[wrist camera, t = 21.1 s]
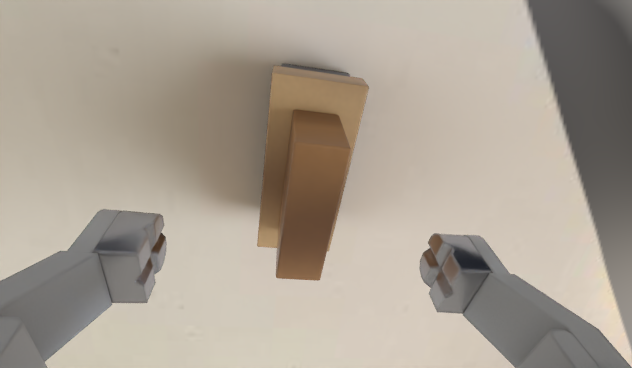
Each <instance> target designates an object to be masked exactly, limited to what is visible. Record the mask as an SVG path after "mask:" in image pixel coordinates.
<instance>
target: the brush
mask: <svg viewBox="0 0 632 368" xmlns="http://www.w3.org/2000/svg"><path fill="white" fill-rule="evenodd" d="M368 89H369V86H368V85H367V84H366V82H365V81H364V80H363V79H362V78H356V77H351V76H350V75H349V74H348V73H343V72H336V71H330V70H323V69H316V68H310V67H303V66H296V65H290V64H282V65H281V66H273V71H272V79H271V91H270V103H269V114H268V126H267V138H266V149H265V161H264V173H263V184H262V196H261V208H260V219H259V231H258V242H257V246H258V247H272V248H277V261H276V277H277V278H282V279H300V280H320V278H321V273H322V269H323V265H324V261H325V257H326V253H327V251H329V248H330V244H331V240H332V236H333V232H334V228H335V224H336V220H337V216H338V212H339V208H340V204H341V199H342V195H343V191H344V187H345V183H346V179H347V175H348V171H349V167H350V163H351V159H352V154H353V150H354V146H355V142H356V138H357V134H358V130H359V126H360V122H361V118H362V114H363V110H364V105H365V101H366V97H367V93H368Z"/></svg>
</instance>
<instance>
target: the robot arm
mask: <svg viewBox="0 0 632 368" xmlns="http://www.w3.org/2000/svg"><path fill="white" fill-rule="evenodd" d="M163 227H164V220H163V216H162V215H161V214H154V213H143V212H132V211H118V210H107V209H103V210H100V211H98V212H97V214H96V215H95V216H94V217H93V219H92V220H91V221H90V222H89V224H88V225H87V226H86V228H85V229H84V230H83V231H82V233H81V234H80V235H79V237H78V238H77V239H76V240H75V242H74V243H73V244H72V245H71V247H70V248H69V249H68V251H59V252H57V253H55V254H53V255H52V256H50V257H48V258H46V259H44V260H42V261H40V262H38V263H36V264H34V265H32V266H30V267H28V268H26V269H24V270H22V271H20V272H18V273H16V274H14V275H12V276H10V277H8V278H6V279H4V280H2V281H0V368H48V367H47V366H46V364H45V361H46V360H47V359H49V358H50V357H51V356H52V355H53V354H54V353H56V352H57V351H58V350H59V349H60V348H62V347H63V346H64V345H65V344H66V343H67V342H69V341H70V340H71V339H72V338H73V337H75V336H76V335H77V334H78V333H79V332H80V331H82V330H83V329H84V328H85V327H86V326H88V325H89V324H90V323H91V322H92V321H94V320H95V319H96V318H97V317H98V316H99V315H101V314H102V313H103V312H104V311H105V310H107V309H108V308H109V307H110V306H111V305H112V303H147V302H148V299H149V297H150V295H151V292H152V290H153V287H154V285H155V276H154V274H156V273H157V272H159V271H160V270H161V268H162V266H163V263H164V260H165V255H166V237H165V236H164V235H163V234H162V233H161V231H162V229H163ZM428 244H429V246H430V248H429V249H428V250H426V251H425V252H424V253H423V255H422V257H421V259H420V273H421V277H422V279H423V281H424V283H426V284H427V285H428V286H429V287H430V288H431V289H430V292H429V295H430V297H431V299H432V302H433V304H434V306H435V308H436V310H437V312H446V313H463V316H464V317H465V318H466V319H467V320H468V321H469V322H470V323H471V324H472V325H473V326H474V327H475V328H476V329H477V330H478V331H479V332H480V333H481V334H482V335H483V336H484V337H485V338H486V339H487V340H488V341H489V342H490V343H491V344H492V345H493V346H494V347H495V348H496V349H497V350H498V351H499V352H500V353H501V354H502V355H503V356H504V357H505V358H506V359H507V360H508V361H509V362H510V363H511V364H512V365H513V366H514V367H515V368H632V367H631V366H630V365H629V364H628V363H627V362H626V360H625V359H624V358H623V357H622V356H621V355H620V353H619V352H618V351H617V350H616V349H615V348H614V347H613V345H612V344H611V343H610V342H609V341H608V340H607V339H606V337H605V336H604V335H603V334H602V333H601V332H600V331H599V329H597V328H596V327H594V326H593V325H591V324H590V323H588V322H587V321H585V320H583V319H582V318H580V317H579V316H577V315H576V314H574V313H573V312H571V311H570V310H568V309H567V308H565V307H564V306H562V305H561V304H559V303H557V302H556V301H554V300H553V299H551V298H550V297H548V296H547V295H545V294H544V293H542V292H541V291H539V290H538V289H536V288H535V287H533V286H532V285H530V284H528V283H527V282H525V281H524V280H522V279H521V278H519V277H518V276H516V275H515V274H510V273H509V272H508V271H507V269H506V268H505V267H504V265H503V264H502V263H501V261H500V260H499V259H498V257H497V256H496V255H495V253H494V252H493V251H492V249H491V248H490V247H489V245H488V244H487V243H486V241H485V240H484V239H483V238H482V237H480V236H476V235H452V234H436V233H434V234H433V235H432V236H431V237H430V239H429V242H428Z"/></svg>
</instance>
